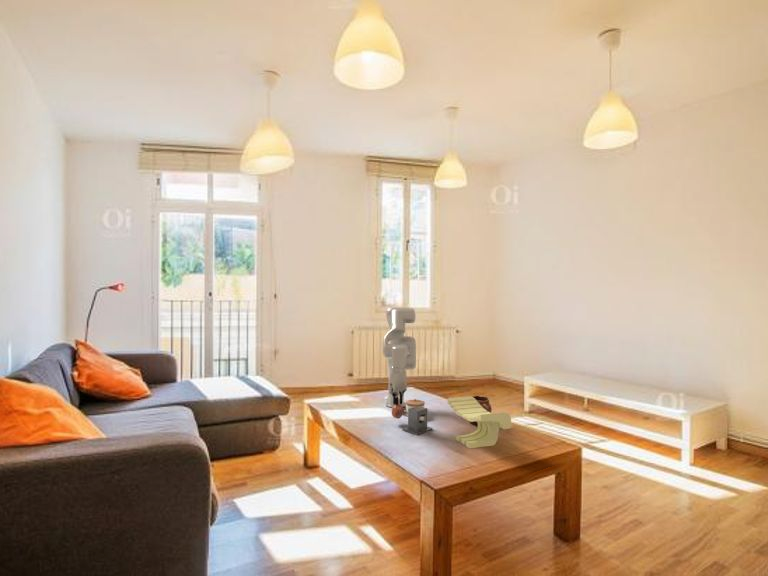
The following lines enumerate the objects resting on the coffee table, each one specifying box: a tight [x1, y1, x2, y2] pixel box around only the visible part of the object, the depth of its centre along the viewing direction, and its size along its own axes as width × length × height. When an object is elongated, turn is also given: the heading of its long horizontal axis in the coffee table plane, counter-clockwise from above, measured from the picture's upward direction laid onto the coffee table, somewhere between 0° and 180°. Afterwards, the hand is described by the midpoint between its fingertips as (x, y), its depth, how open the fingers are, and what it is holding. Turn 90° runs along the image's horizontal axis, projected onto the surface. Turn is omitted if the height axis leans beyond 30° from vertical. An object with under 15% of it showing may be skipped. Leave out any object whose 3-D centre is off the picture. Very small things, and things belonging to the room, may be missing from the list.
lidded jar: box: [405, 398, 426, 412], centre depth 255 cm, size 11×11×9 cm
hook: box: [391, 393, 425, 422], centre depth 234 cm, size 20×7×13 cm, turn 44°
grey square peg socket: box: [402, 406, 434, 436], centre depth 229 cm, size 10×12×11 cm
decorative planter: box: [468, 395, 493, 426], centre depth 242 cm, size 20×12×14 cm, turn 20°
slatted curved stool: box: [447, 395, 512, 449], centre depth 214 cm, size 30×16×18 cm, turn 20°
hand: (397, 403), depth 240 cm, fingers closed on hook, 2 cm apart
